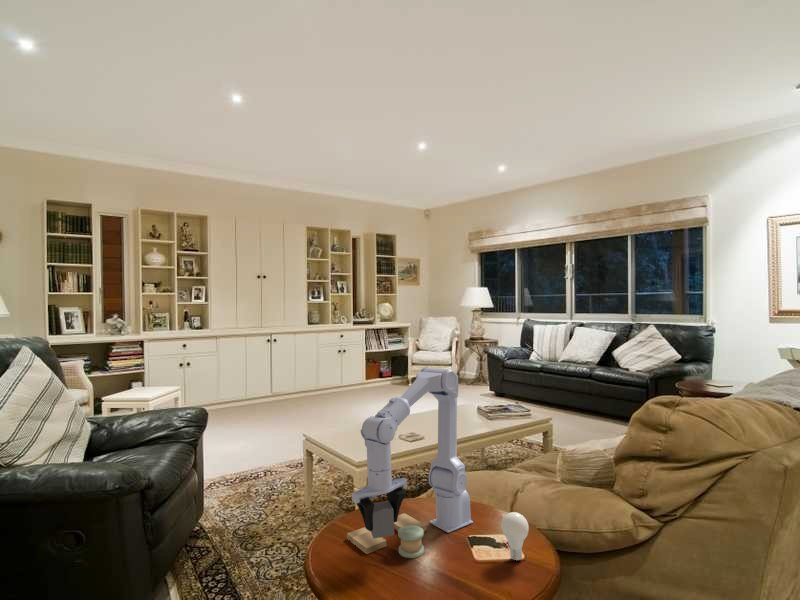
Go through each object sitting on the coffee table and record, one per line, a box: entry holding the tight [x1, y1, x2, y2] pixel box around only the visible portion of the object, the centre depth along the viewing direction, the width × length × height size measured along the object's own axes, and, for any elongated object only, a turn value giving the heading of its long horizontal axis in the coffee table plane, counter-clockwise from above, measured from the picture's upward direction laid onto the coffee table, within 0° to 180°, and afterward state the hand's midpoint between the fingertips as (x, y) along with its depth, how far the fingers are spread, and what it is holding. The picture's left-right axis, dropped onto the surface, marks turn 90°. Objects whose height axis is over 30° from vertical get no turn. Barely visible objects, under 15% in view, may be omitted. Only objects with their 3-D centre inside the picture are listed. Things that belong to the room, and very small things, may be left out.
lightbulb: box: [500, 511, 530, 562], centre depth 111 cm, size 6×6×11 cm
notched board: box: [346, 512, 427, 555], centre depth 125 cm, size 19×10×2 cm, turn 125°
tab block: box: [371, 500, 395, 539], centre depth 111 cm, size 5×5×6 cm
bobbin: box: [397, 525, 425, 559], centre depth 116 cm, size 6×6×5 cm
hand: (381, 524), depth 111 cm, fingers closed on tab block, 6 cm apart
